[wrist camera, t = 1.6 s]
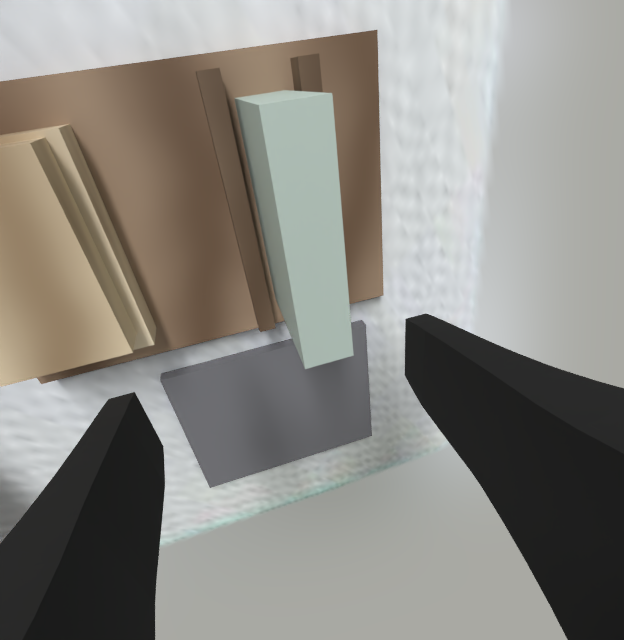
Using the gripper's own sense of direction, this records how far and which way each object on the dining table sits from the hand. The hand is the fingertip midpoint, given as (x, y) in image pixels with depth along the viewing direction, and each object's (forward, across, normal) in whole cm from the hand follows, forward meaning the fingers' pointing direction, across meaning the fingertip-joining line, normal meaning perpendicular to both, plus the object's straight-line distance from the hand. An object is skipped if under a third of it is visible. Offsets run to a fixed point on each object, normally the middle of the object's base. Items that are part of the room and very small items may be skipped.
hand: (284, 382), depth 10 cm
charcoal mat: (+10, 0, +11) cm, 15 cm away
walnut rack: (+10, +2, -2) cm, 11 cm away
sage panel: (+10, -2, -2) cm, 10 cm away
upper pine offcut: (+8, +8, -2) cm, 11 cm away
